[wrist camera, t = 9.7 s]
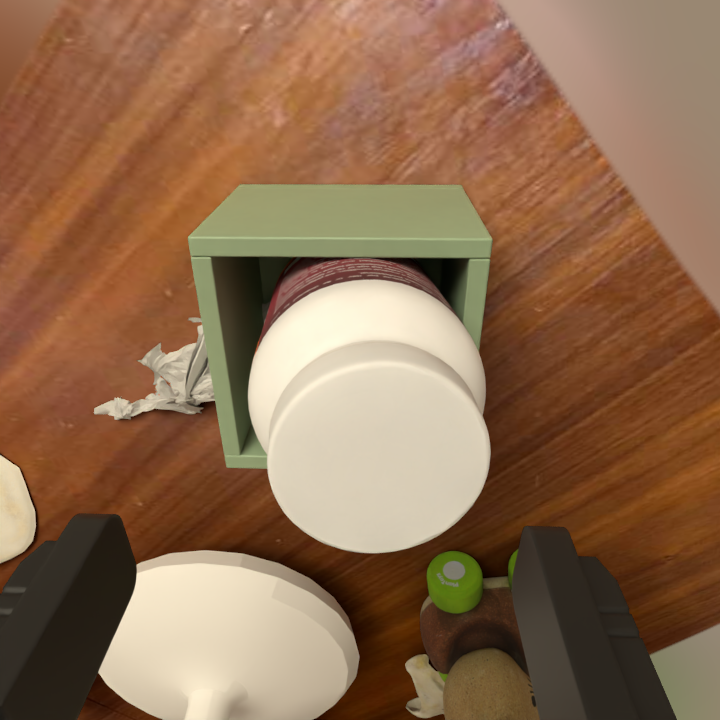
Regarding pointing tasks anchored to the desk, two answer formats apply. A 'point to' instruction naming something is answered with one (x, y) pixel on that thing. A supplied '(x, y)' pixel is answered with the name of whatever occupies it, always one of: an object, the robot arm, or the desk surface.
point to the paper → (173, 380)
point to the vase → (230, 641)
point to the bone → (425, 688)
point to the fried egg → (14, 512)
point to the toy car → (476, 641)
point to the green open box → (320, 239)
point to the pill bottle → (368, 403)
